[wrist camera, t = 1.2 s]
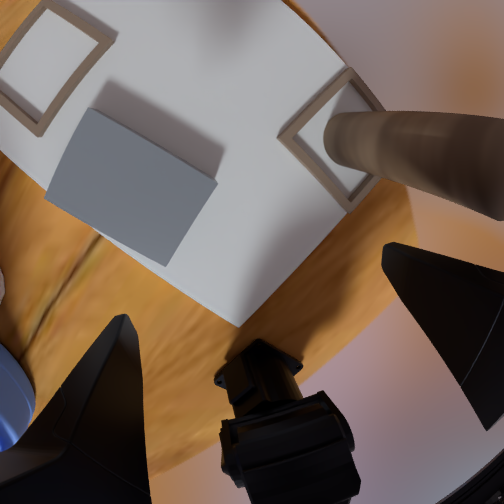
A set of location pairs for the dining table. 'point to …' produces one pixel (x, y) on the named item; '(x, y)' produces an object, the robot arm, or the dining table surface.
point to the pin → (426, 153)
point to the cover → (128, 187)
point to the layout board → (198, 124)
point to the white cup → (1, 286)
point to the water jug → (13, 400)
